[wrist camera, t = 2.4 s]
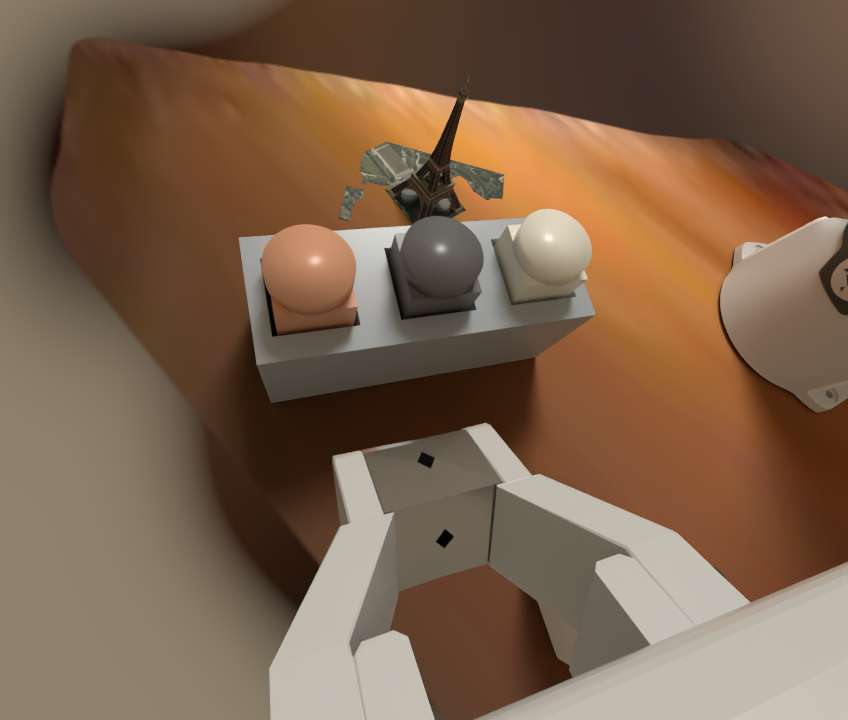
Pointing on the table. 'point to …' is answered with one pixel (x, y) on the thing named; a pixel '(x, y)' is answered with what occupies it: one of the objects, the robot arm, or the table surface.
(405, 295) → the button charcoal
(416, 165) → the eiffel tower figurine
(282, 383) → the button console
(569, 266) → the button cream
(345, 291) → the button terracotta
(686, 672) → the robot arm
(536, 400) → the table surface
